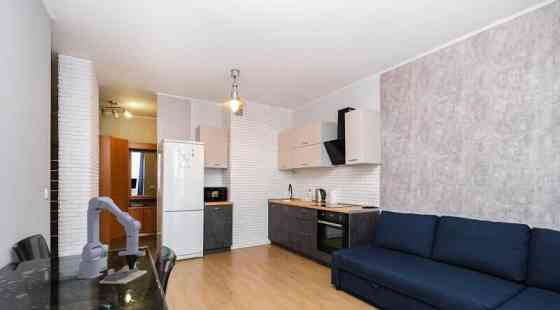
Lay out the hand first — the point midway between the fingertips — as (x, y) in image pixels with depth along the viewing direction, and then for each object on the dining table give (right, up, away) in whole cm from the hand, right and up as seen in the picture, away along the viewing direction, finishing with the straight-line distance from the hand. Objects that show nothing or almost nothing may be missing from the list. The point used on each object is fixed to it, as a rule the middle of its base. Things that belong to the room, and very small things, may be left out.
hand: (131, 269), depth 151 cm
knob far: (-2, -2, +6) cm, 7 cm away
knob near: (-8, -1, -5) cm, 10 cm away
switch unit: (-4, -5, 0) cm, 6 cm away
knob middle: (-3, -1, 0) cm, 3 cm away
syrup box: (-27, -7, +15) cm, 32 cm away
